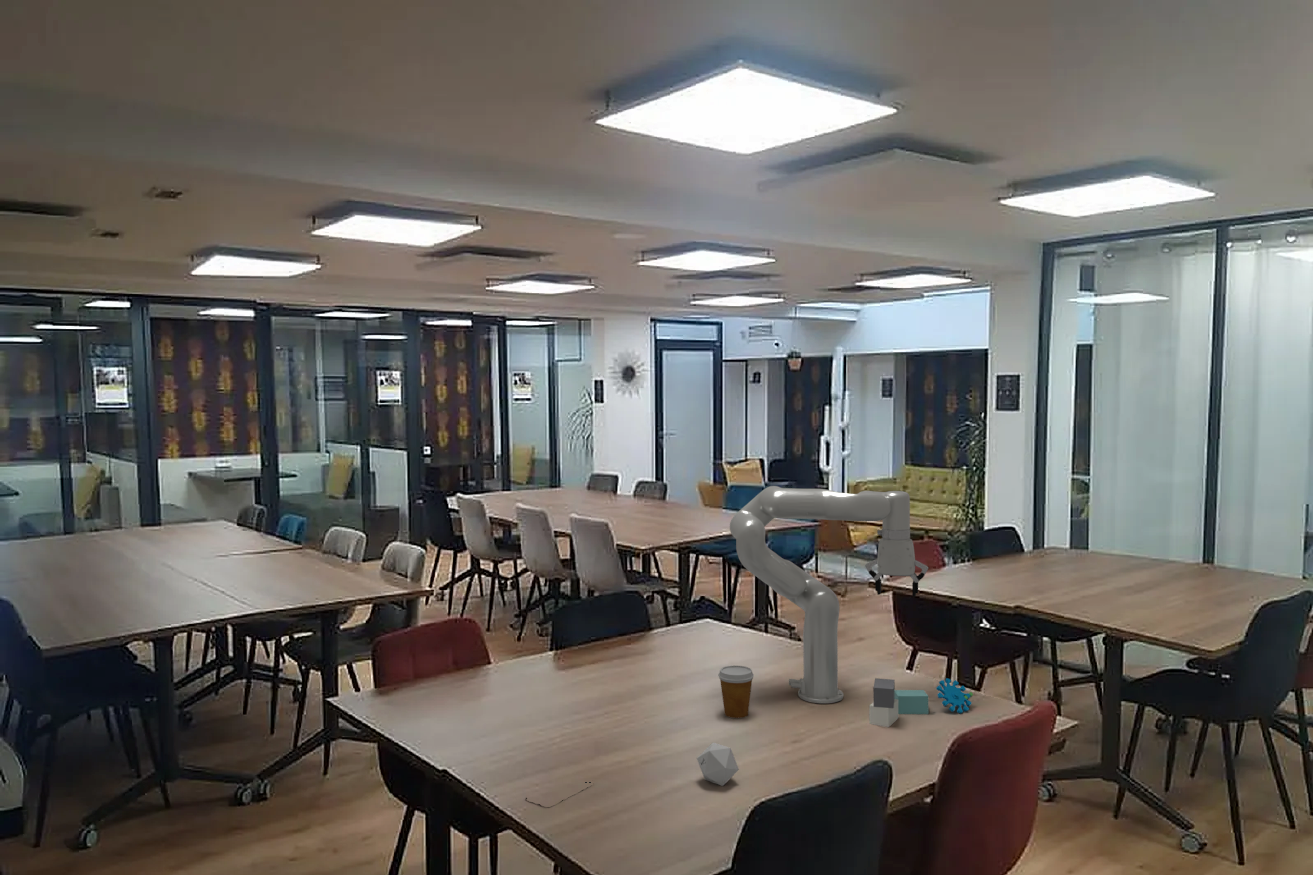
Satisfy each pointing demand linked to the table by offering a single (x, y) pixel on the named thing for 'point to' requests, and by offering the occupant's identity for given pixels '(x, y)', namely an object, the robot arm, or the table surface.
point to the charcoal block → (884, 693)
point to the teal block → (912, 701)
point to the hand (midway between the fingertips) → (896, 594)
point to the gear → (954, 696)
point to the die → (717, 764)
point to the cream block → (883, 715)
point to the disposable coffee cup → (736, 690)
